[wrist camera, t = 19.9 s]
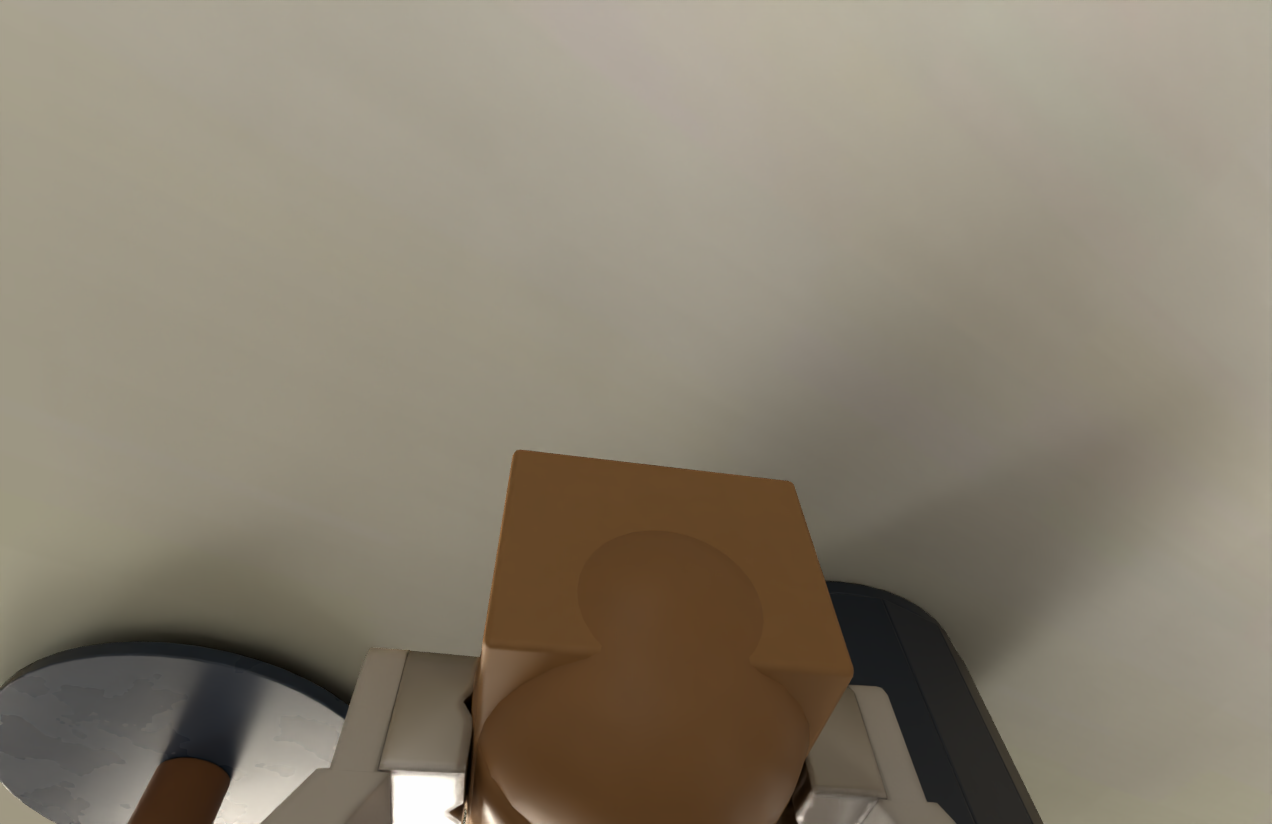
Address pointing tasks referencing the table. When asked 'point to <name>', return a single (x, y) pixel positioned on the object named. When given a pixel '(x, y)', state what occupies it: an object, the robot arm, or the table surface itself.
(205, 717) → the lid
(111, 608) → the table surface
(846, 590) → the pot
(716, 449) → the table surface
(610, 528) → the brown rounded block
